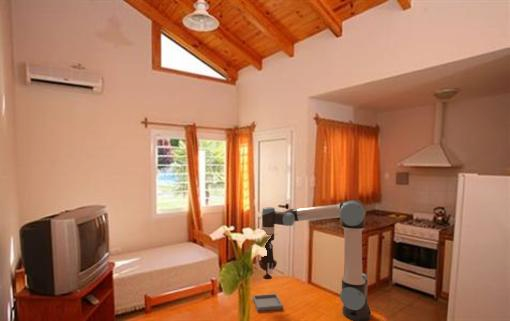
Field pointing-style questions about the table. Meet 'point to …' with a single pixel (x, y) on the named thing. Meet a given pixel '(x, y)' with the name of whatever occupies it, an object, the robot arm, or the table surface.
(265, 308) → the tray
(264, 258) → the ice cream bowl
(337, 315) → the table surface
